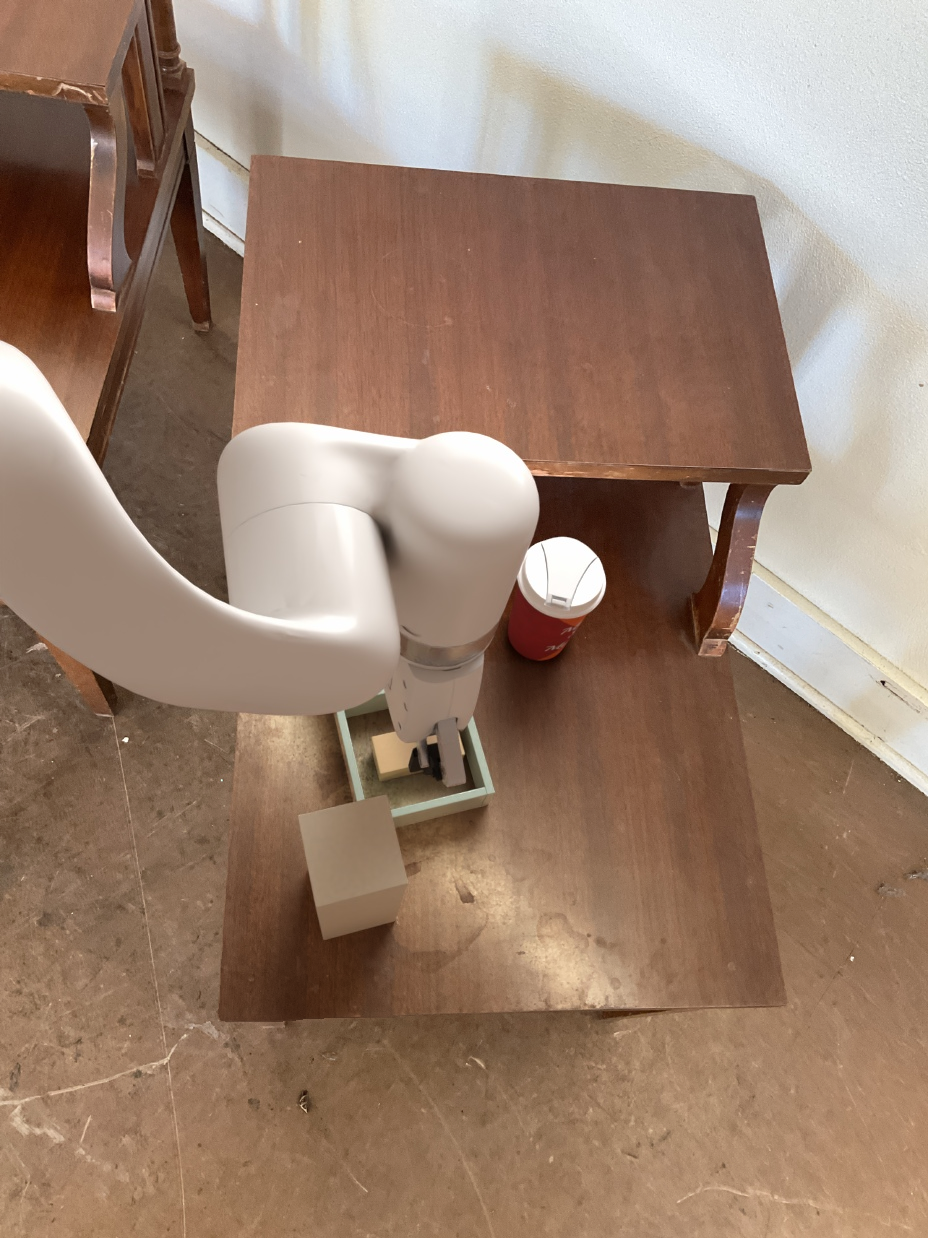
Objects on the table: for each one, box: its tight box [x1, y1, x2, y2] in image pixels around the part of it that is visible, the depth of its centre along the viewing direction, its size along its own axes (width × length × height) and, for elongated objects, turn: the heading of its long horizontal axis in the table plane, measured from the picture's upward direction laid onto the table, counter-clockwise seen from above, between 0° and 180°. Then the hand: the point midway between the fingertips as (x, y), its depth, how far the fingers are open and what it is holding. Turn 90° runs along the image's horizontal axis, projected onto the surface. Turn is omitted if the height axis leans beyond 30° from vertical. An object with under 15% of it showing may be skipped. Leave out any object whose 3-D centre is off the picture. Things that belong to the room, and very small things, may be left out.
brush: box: [370, 730, 466, 783], centre depth 80 cm, size 8×3×4 cm, turn 105°
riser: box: [297, 794, 409, 941], centre depth 68 cm, size 6×6×20 cm
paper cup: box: [507, 536, 607, 661], centre depth 83 cm, size 8×8×14 cm
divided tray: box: [333, 689, 496, 829], centre depth 82 cm, size 11×22×6 cm, turn 15°
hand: (413, 703), depth 68 cm, fingers open, 9 cm apart
